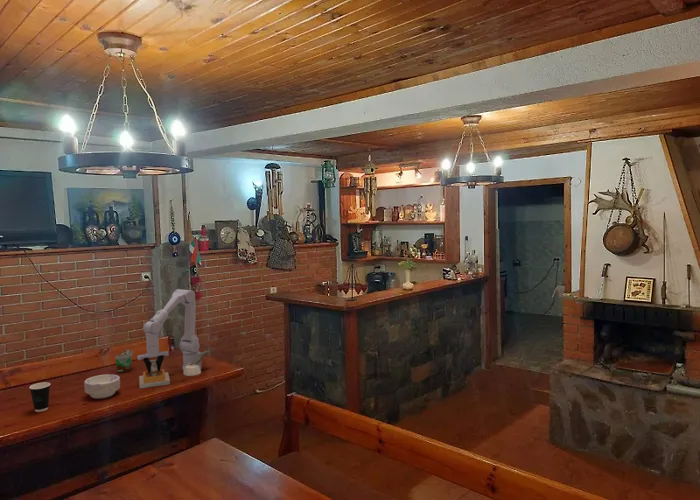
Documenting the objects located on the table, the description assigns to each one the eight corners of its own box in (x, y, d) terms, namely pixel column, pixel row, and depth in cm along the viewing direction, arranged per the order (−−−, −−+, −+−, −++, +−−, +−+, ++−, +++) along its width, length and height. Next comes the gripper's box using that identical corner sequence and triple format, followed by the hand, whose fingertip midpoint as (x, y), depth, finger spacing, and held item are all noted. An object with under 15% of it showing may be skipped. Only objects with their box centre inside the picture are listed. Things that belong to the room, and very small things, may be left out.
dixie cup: (48, 404, 228) (47, 381, 228) (54, 409, 223) (52, 385, 222) (28, 410, 223) (26, 385, 222) (34, 414, 217) (32, 389, 216)
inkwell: (179, 374, 268) (178, 355, 267) (205, 365, 283) (204, 347, 283) (191, 377, 263) (190, 358, 263) (217, 367, 279) (216, 349, 278)
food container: (127, 373, 270) (126, 355, 269) (116, 374, 270) (115, 355, 270) (137, 366, 283) (136, 349, 282) (126, 366, 283) (125, 349, 282)
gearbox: (168, 375, 266) (167, 367, 266) (170, 384, 253) (169, 375, 253) (139, 379, 260) (138, 371, 260) (139, 388, 248) (139, 379, 247)
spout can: (157, 374, 260) (156, 359, 259) (160, 377, 254) (159, 361, 254) (148, 376, 257) (147, 360, 257) (151, 379, 252) (150, 363, 251)
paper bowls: (127, 390, 245) (127, 374, 244) (104, 402, 230) (103, 385, 230) (101, 388, 249) (100, 372, 248) (77, 399, 234) (76, 382, 234)
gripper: (166, 341, 262) (167, 366, 263) (135, 345, 255) (137, 372, 256) (169, 344, 256) (170, 370, 257) (138, 348, 249) (139, 375, 250)
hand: (153, 371), depth 256 cm, fingers closed on spout can, 4 cm apart
